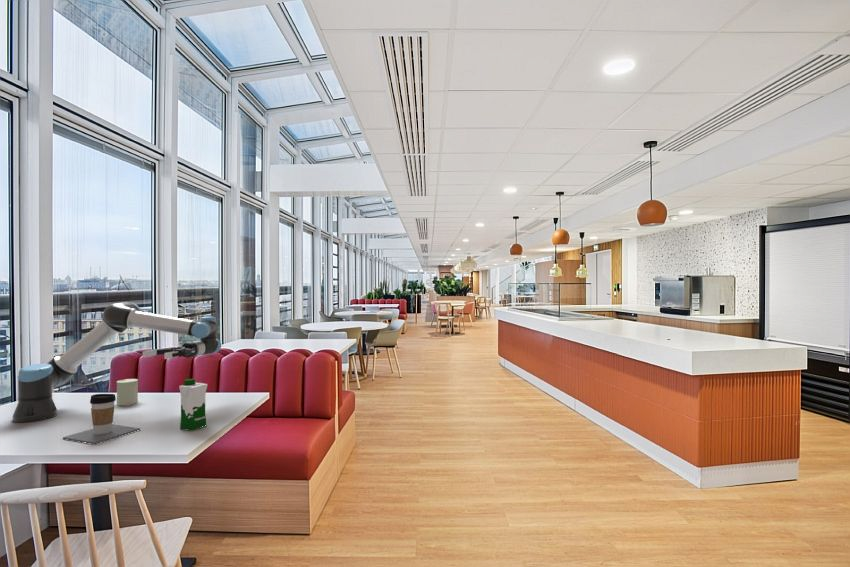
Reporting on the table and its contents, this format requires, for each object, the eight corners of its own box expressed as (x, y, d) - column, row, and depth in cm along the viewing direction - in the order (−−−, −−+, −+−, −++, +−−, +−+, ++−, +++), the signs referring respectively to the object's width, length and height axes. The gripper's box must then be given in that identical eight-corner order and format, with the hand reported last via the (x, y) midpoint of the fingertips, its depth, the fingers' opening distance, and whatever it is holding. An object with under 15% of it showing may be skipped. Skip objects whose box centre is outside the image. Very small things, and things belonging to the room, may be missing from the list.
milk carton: (194, 423, 192) (194, 377, 193) (210, 425, 189) (210, 378, 190) (176, 429, 184) (176, 381, 184) (192, 432, 181) (193, 382, 181)
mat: (62, 439, 173) (62, 437, 173) (109, 425, 190) (109, 423, 190) (94, 444, 167) (94, 442, 167) (140, 430, 184) (140, 428, 184)
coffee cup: (93, 430, 181) (93, 393, 181) (117, 428, 184) (118, 391, 184) (86, 436, 173) (86, 398, 173) (112, 434, 176) (112, 396, 176)
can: (126, 400, 232) (126, 377, 232) (142, 401, 231) (142, 378, 231) (111, 405, 223) (111, 381, 223) (128, 406, 222) (128, 381, 222)
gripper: (212, 358, 218) (174, 365, 198) (174, 355, 227) (134, 362, 207) (212, 342, 218) (174, 348, 198) (174, 340, 227) (134, 345, 207)
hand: (153, 355), depth 203 cm, fingers open, 13 cm apart
